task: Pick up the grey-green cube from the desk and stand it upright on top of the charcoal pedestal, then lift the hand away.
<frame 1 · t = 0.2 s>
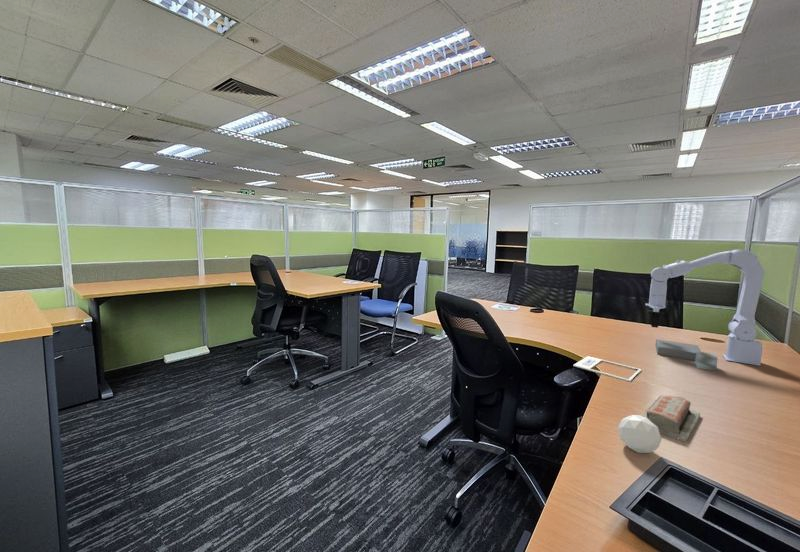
hand: (654, 325, 145), 10 cm above the table, tool pointing down, fingers open, 7 cm apart
packaged product: (668, 422, 87), on the table
grey-green cube: (705, 367, 124), on the table
pedestal: (677, 353, 139), on the table
geometric ball: (637, 450, 74), on the table
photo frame: (606, 370, 122), on the table
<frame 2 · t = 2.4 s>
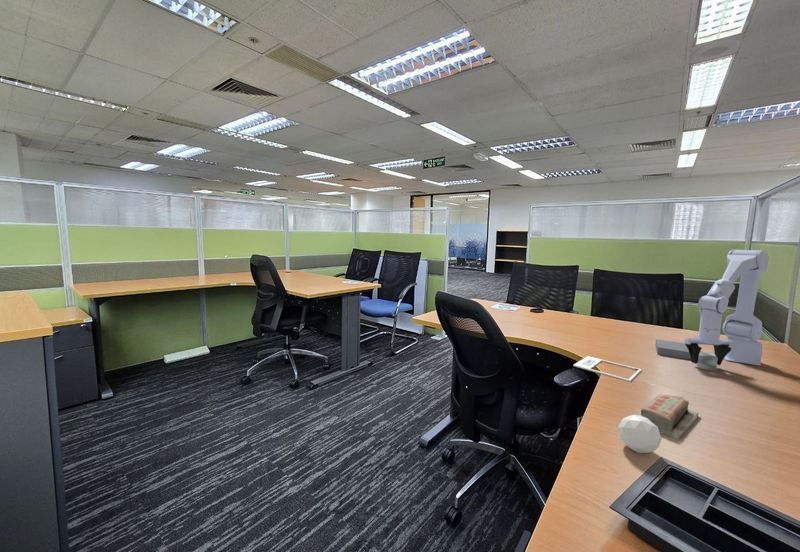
hand: (705, 363, 124), 1 cm above the table, tool pointing down, fingers open, 7 cm apart
grey-green cube: (705, 367, 124), on the table, touching gripper
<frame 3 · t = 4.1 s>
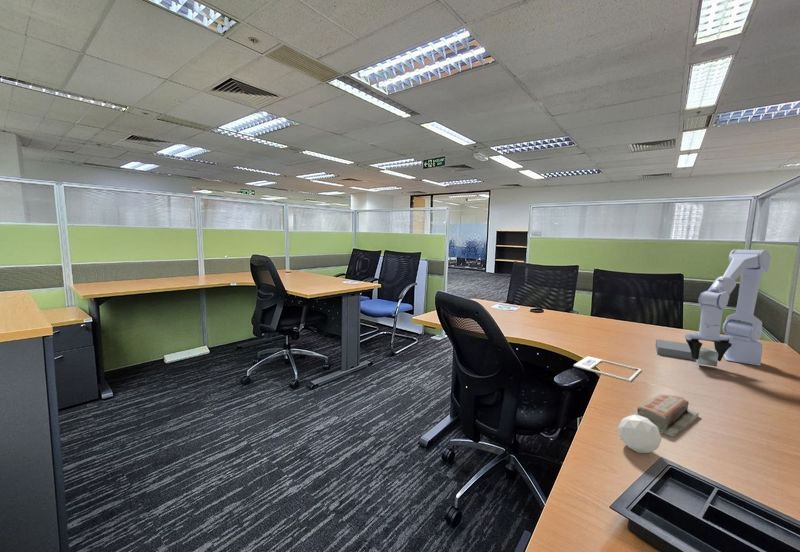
hand: (706, 359, 123), 3 cm above the table, tool pointing down, fingers closed on grey-green cube, 7 cm apart
grey-green cube: (705, 363, 124), point 2 cm above the table, touching gripper
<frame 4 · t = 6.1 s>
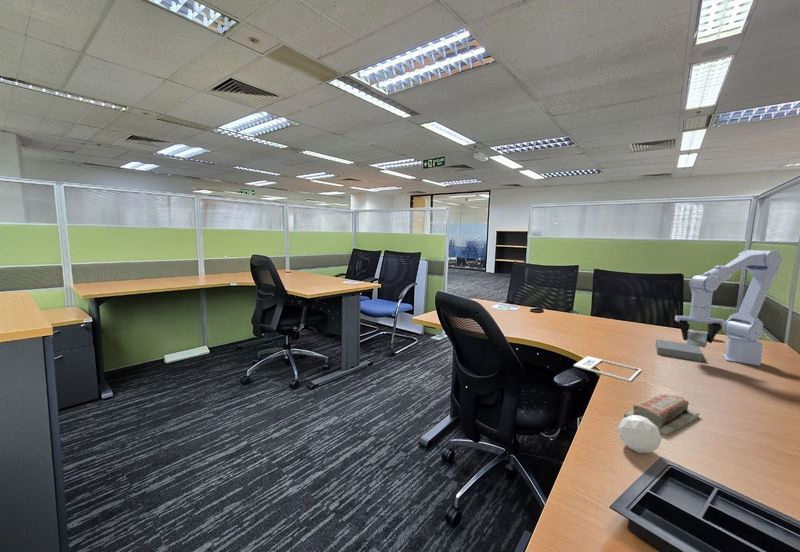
hand: (697, 340, 128), 8 cm above the table, tool pointing down, fingers closed on grey-green cube, 7 cm apart
grey-green cube: (696, 344, 128), point 7 cm above the table, touching gripper
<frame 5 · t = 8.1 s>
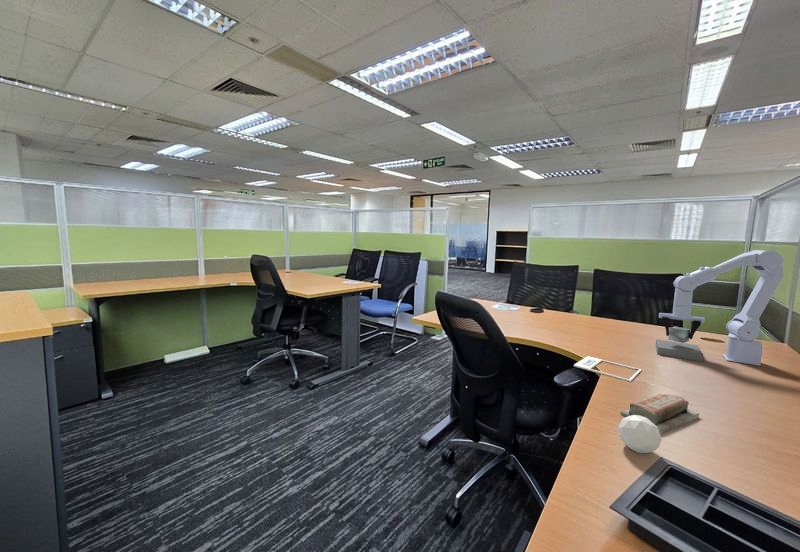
hand: (678, 336, 138), 7 cm above the table, tool pointing down, fingers closed on grey-green cube, 7 cm apart
grey-green cube: (678, 340, 138), point 6 cm above the table, touching gripper
when the fingers open (5 cm above the table, at t = 9.5 s): grey-green cube stays where it is, resting on pedestal.
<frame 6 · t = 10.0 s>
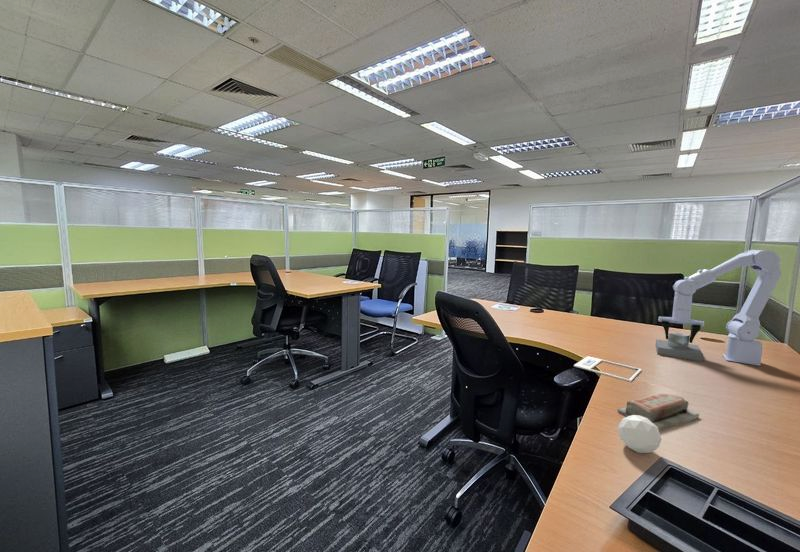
hand: (678, 340, 138), 5 cm above the table, tool pointing down, fingers open, 7 cm apart
grey-green cube: (678, 346, 139), point 3 cm above the table, touching pedestal
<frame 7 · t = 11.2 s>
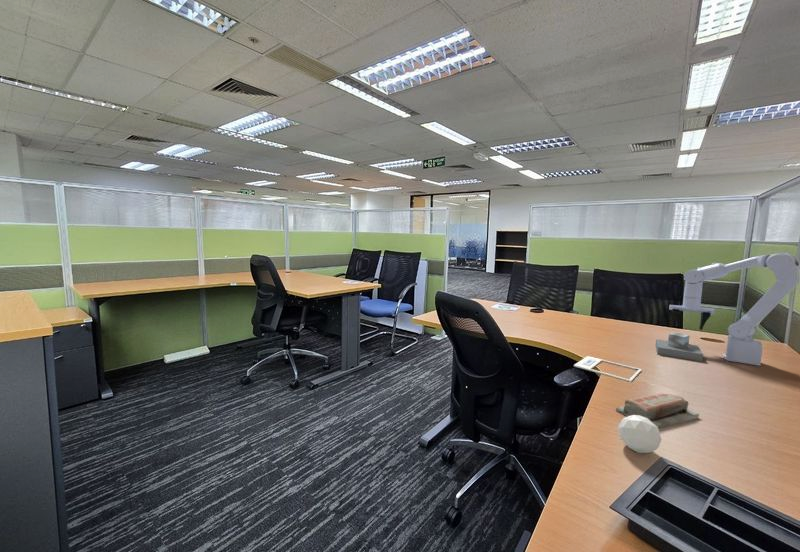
hand: (688, 327, 144), 9 cm above the table, tool pointing down, fingers open, 7 cm apart
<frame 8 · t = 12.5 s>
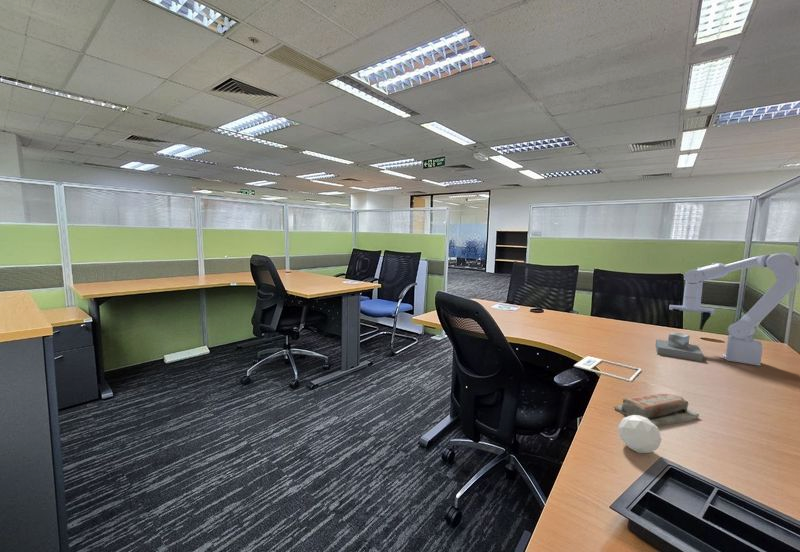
hand: (689, 327, 144), 9 cm above the table, tool pointing down, fingers open, 7 cm apart
at the end: grey-green cube inside the target area on the pedestal (0.0 cm from its centre), point 3.0 cm above the pedestal's base; grey-green cube tilted 0°; the gripper is holding nothing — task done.
